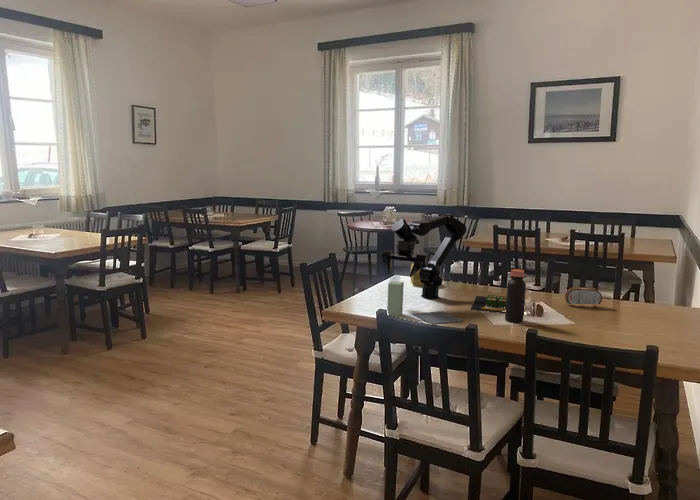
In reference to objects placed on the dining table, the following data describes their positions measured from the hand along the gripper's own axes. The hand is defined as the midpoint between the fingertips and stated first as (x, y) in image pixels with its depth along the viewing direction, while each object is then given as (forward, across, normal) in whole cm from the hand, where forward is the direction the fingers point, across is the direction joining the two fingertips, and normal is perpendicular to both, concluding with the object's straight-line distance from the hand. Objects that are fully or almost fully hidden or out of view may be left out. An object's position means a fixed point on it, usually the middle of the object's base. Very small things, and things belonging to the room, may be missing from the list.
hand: (399, 275), depth 218 cm
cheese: (-28, -1, +45) cm, 53 cm away
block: (+16, +1, +5) cm, 17 cm away
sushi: (-9, +40, +28) cm, 50 cm away
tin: (-20, +73, +36) cm, 84 cm away
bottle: (+6, +46, +12) cm, 48 cm away
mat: (+14, +18, +6) cm, 23 cm away
